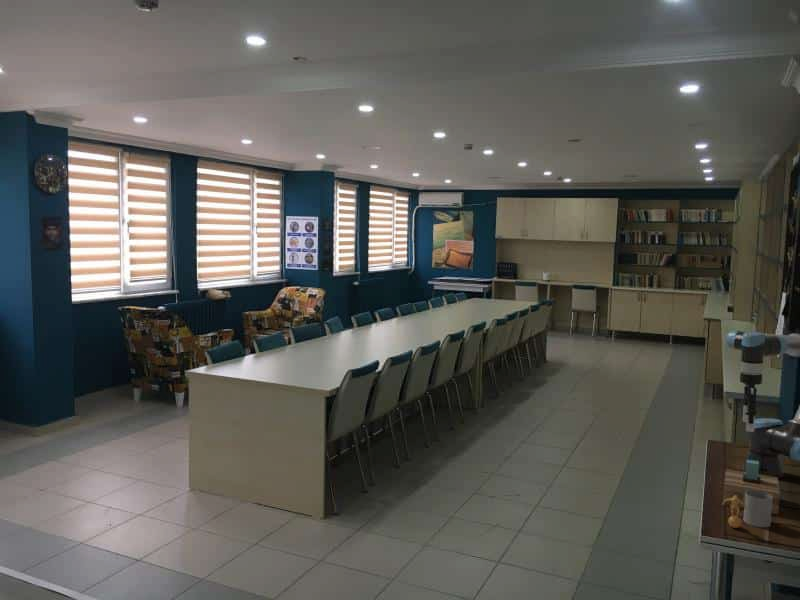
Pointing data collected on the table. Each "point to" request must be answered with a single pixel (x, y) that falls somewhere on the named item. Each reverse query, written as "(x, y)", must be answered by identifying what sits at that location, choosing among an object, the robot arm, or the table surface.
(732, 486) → the socket block
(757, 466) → the peg
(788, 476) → the table surface
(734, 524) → the figurine
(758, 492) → the cup
